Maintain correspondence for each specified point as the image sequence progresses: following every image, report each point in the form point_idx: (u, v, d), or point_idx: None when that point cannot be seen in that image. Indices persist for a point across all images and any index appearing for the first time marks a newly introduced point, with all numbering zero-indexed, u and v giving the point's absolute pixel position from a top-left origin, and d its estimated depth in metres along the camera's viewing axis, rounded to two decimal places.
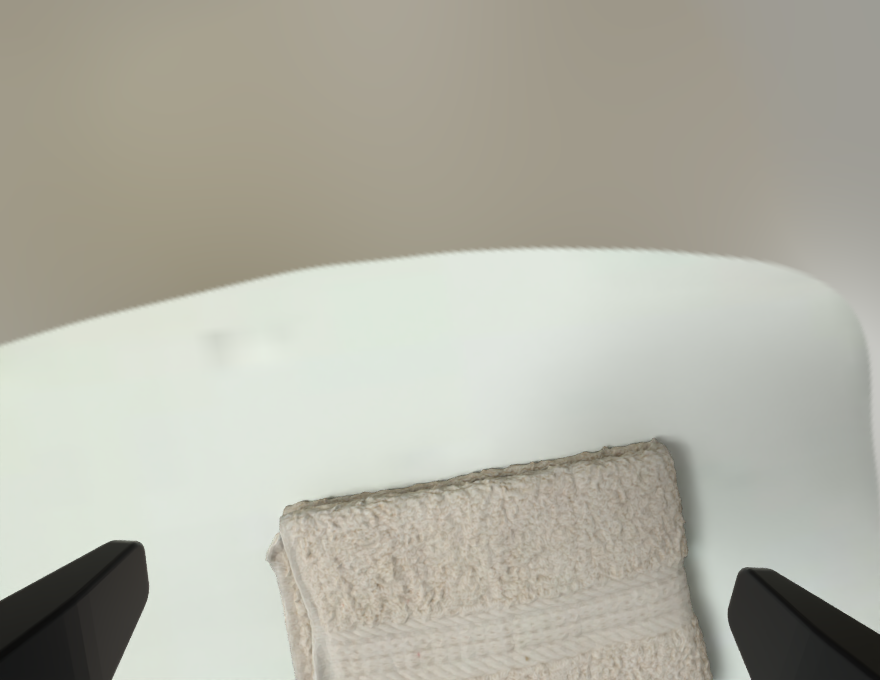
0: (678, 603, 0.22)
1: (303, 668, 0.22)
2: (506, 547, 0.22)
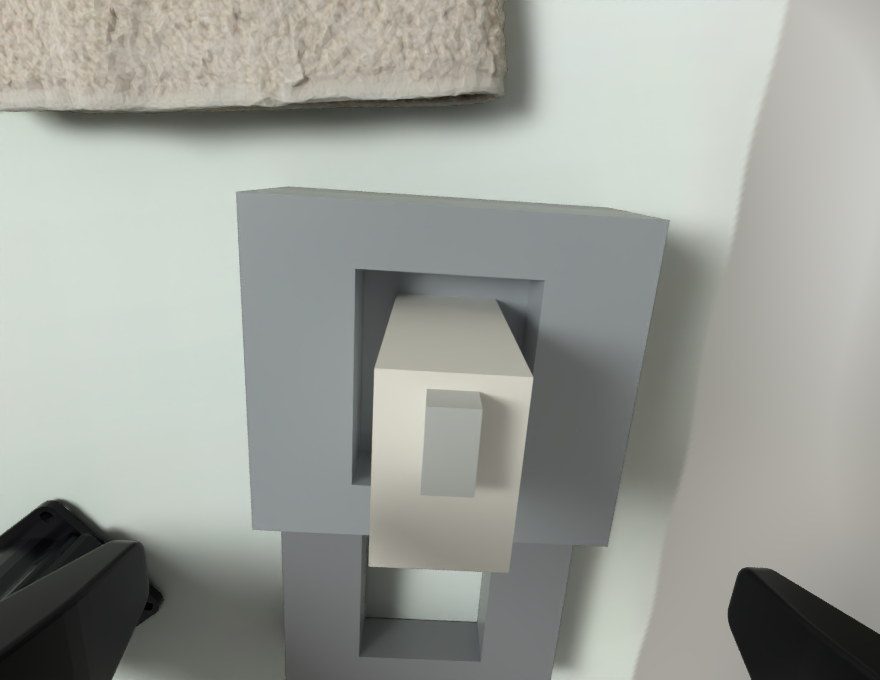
0: None
1: None
2: None
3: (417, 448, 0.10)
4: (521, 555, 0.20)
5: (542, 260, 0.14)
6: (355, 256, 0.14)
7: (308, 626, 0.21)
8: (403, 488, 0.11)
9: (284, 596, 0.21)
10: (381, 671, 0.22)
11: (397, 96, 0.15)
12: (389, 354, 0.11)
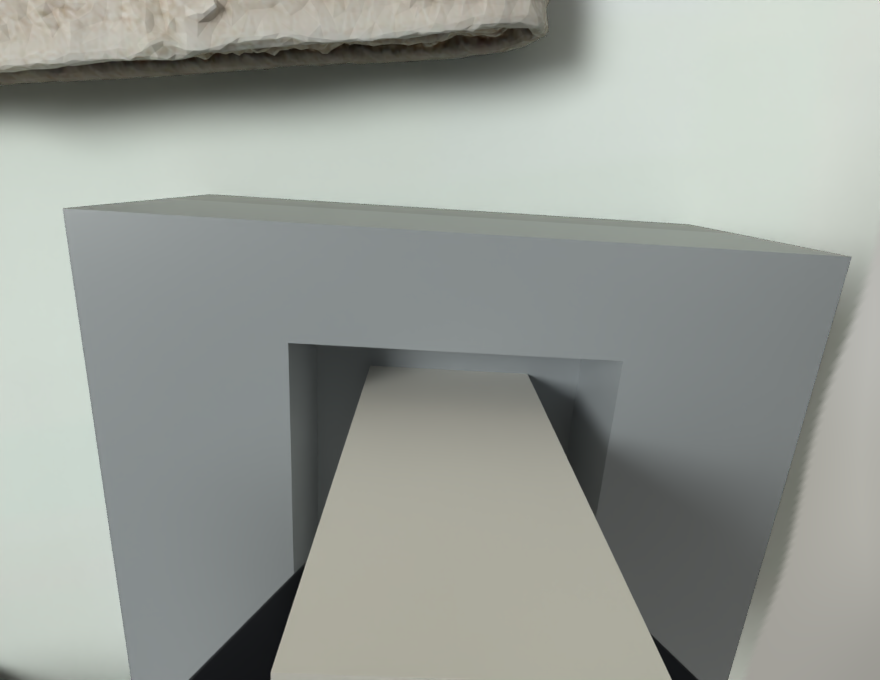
0: None
1: None
2: None
3: None
4: None
5: (620, 327, 0.08)
6: (287, 322, 0.08)
7: None
8: None
9: None
10: None
11: (376, 34, 0.09)
12: (324, 588, 0.05)
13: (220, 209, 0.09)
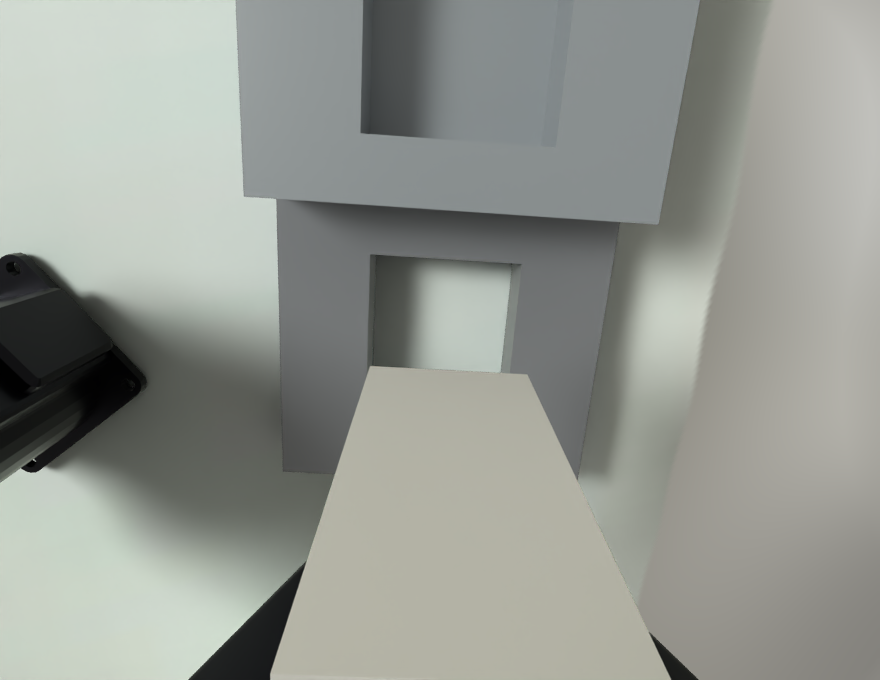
0: None
1: None
2: None
3: None
4: (550, 300, 0.18)
5: None
6: None
7: (308, 393, 0.19)
8: None
9: (281, 353, 0.18)
10: None
11: None
12: (323, 587, 0.05)
13: None
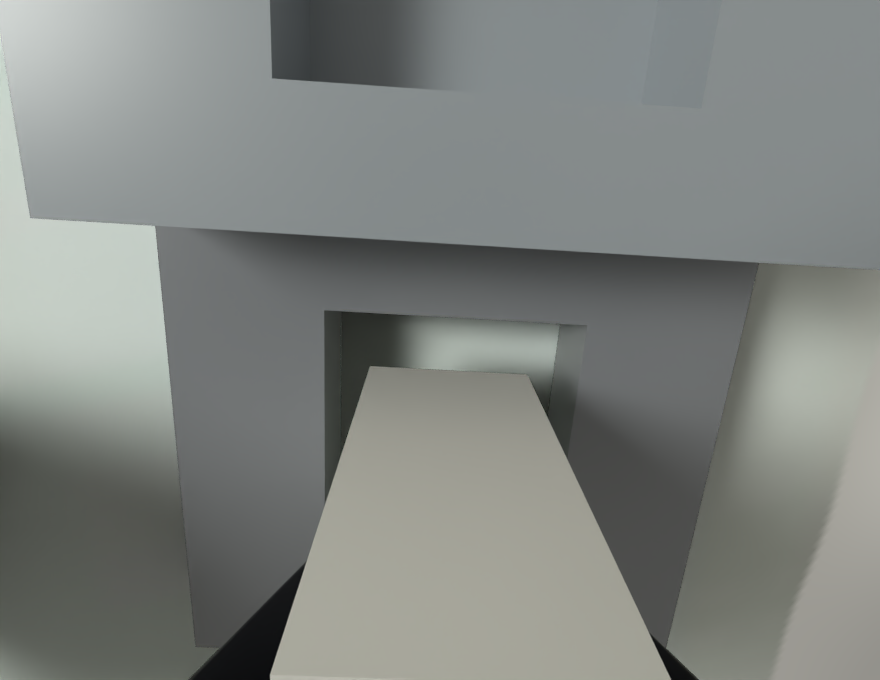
0: None
1: None
2: None
3: None
4: (633, 384, 0.11)
5: None
6: None
7: (229, 531, 0.11)
8: None
9: (181, 471, 0.11)
10: None
11: None
12: (323, 589, 0.05)
13: None
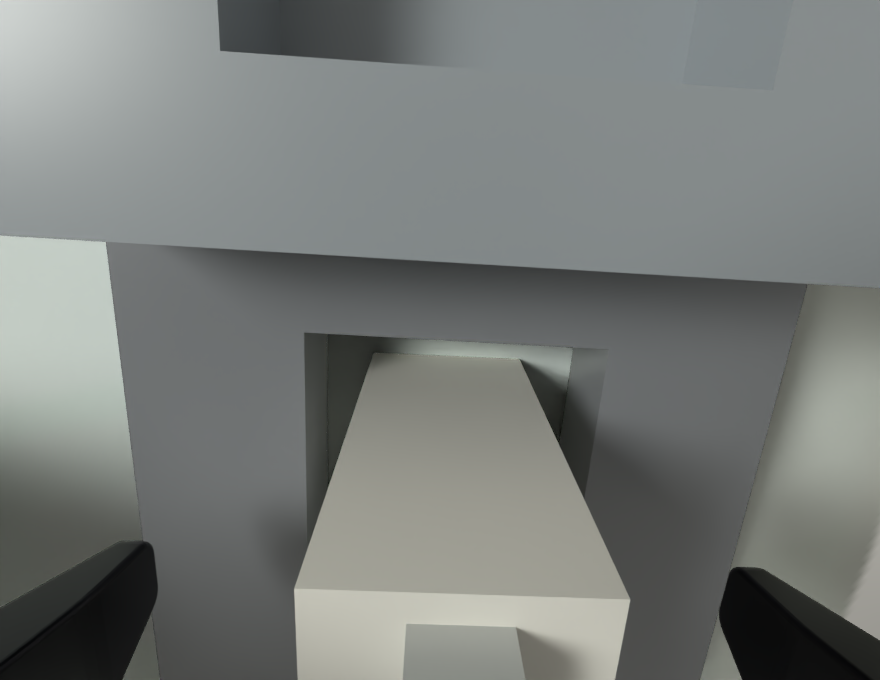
0: None
1: None
2: None
3: None
4: (662, 417, 0.09)
5: None
6: None
7: (199, 581, 0.10)
8: None
9: (142, 514, 0.10)
10: None
11: None
12: (335, 528, 0.06)
13: None
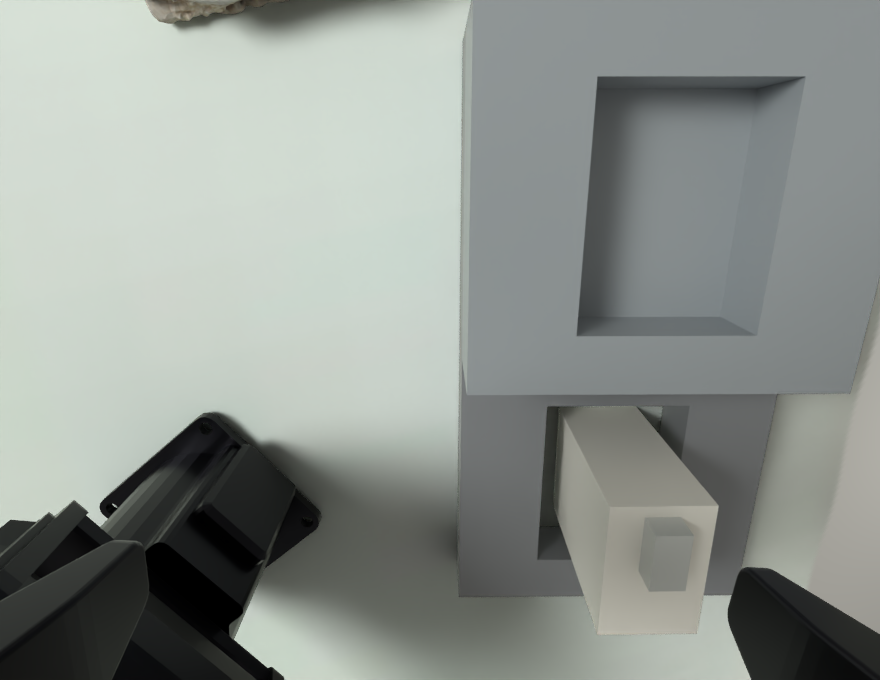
0: None
1: None
2: None
3: (636, 555, 0.15)
4: (715, 435, 0.19)
5: (805, 51, 0.13)
6: (598, 61, 0.13)
7: (485, 528, 0.20)
8: (625, 582, 0.15)
9: (461, 495, 0.20)
10: (560, 575, 0.21)
11: None
12: (608, 489, 0.15)
13: None
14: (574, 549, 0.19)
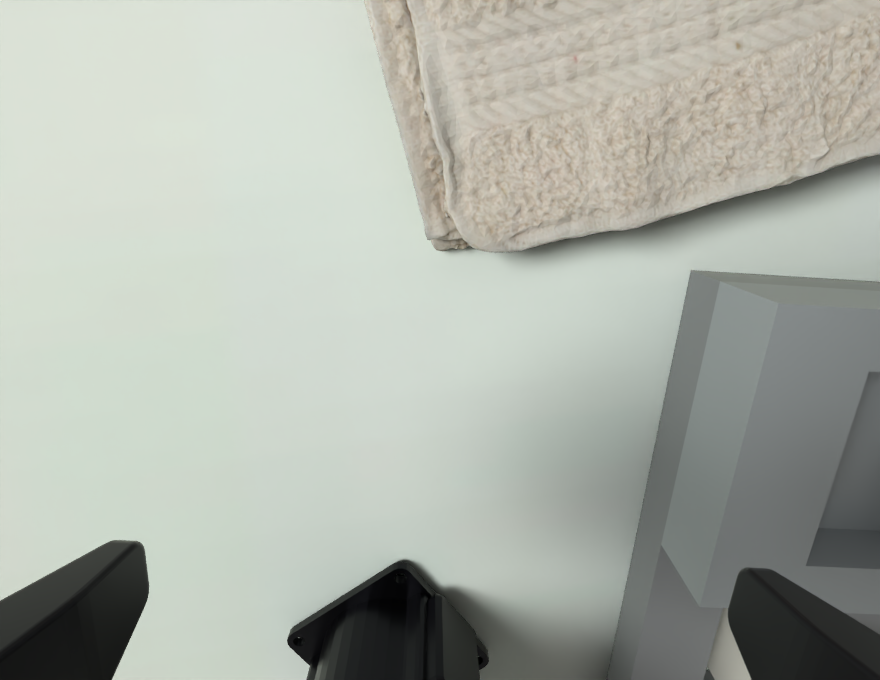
0: None
1: (408, 110, 0.16)
2: None
3: None
4: (873, 616, 0.21)
5: None
6: (872, 360, 0.15)
7: None
8: None
9: (637, 655, 0.22)
10: None
11: None
12: None
13: (806, 296, 0.15)
14: None
